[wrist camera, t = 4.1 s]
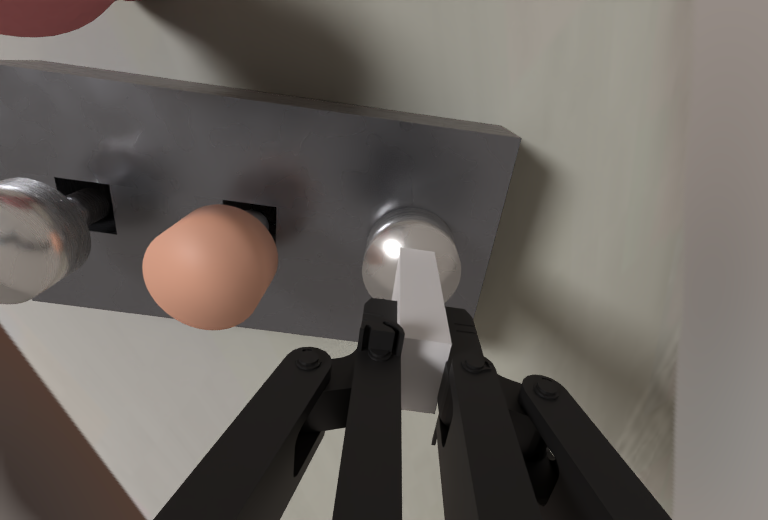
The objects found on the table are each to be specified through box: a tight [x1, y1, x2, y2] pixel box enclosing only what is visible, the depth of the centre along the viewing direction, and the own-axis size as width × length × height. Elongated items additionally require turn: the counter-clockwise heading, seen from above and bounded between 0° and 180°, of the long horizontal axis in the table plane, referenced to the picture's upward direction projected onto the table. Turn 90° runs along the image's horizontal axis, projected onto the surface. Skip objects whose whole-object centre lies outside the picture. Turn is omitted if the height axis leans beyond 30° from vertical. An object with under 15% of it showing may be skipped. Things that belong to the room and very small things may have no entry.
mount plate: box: [0, 60, 521, 342], centre depth 22 cm, size 12×24×4 cm, turn 82°
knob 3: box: [362, 208, 461, 303], centre depth 21 cm, size 4×4×6 cm
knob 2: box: [142, 204, 278, 330], centre depth 18 cm, size 4×4×6 cm
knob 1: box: [0, 177, 110, 304], centre depth 18 cm, size 4×4×6 cm
